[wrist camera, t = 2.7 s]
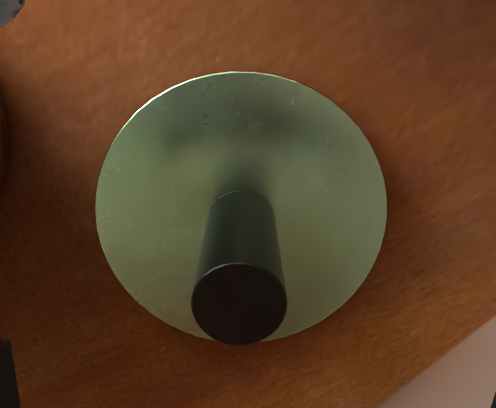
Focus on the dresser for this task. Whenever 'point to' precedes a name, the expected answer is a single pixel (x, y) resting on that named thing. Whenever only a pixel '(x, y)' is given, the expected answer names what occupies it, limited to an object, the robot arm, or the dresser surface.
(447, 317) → the dresser surface
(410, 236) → the dresser surface
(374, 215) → the lid
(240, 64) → the dresser surface
